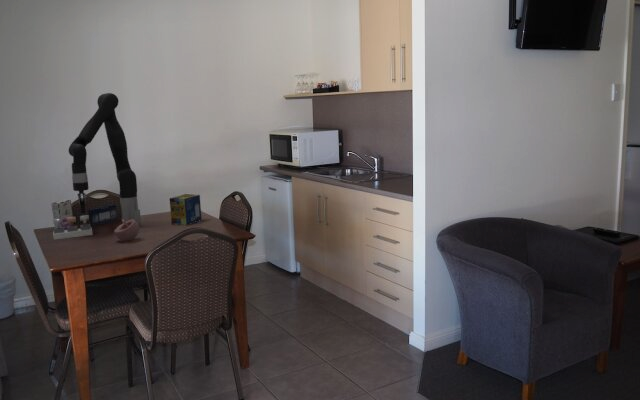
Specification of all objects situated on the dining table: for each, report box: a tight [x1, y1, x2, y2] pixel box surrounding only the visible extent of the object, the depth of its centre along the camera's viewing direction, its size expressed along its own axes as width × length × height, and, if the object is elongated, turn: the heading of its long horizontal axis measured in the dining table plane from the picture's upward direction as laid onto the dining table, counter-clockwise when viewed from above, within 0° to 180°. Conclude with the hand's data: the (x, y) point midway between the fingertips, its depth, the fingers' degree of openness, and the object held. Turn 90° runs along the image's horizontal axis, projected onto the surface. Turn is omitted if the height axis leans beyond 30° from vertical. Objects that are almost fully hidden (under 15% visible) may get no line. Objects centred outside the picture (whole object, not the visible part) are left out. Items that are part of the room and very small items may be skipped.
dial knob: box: [67, 216, 77, 226], centre depth 298 cm, size 4×4×5 cm
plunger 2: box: [79, 214, 89, 225], centre depth 300 cm, size 4×4×4 cm
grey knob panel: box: [52, 223, 93, 241], centre depth 299 cm, size 19×7×5 cm, turn 115°
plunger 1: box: [52, 218, 63, 227], centre depth 295 cm, size 4×4×4 cm
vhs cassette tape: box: [87, 204, 119, 227], centre depth 331 cm, size 18×3×10 cm, turn 148°
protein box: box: [169, 193, 202, 226], centre depth 322 cm, size 10×15×16 cm
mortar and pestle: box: [113, 218, 140, 242], centre depth 281 cm, size 12×12×12 cm
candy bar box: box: [51, 199, 75, 230], centre depth 317 cm, size 11×5×16 cm, turn 168°
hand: (83, 213), depth 300 cm, fingers closed
